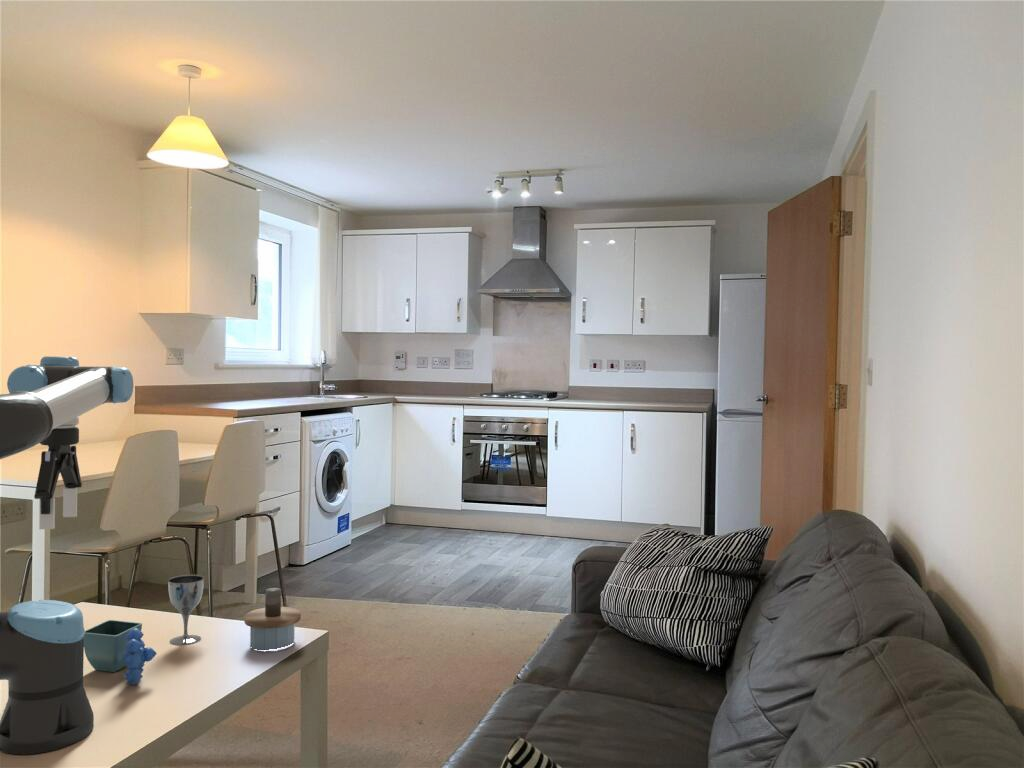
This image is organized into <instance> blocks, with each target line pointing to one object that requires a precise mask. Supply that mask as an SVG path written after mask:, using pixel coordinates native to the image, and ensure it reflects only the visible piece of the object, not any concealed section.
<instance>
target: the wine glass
mask: <svg viewBox="0 0 1024 768" xmlns="http://www.w3.org/2000/svg"><path fill="white" fill-rule="evenodd" d="M204 580H205V578H204V576H203V575H200V574H181V575H176V576H175V575H174V576H173V577H169V579H168V585H167V586H168V596H169V601H170V603H171V605H172V606H173V607H174V608H175V609H176V610H177V611H178V612H179V614H180V615H181V616H182V621H183V634H182V635H180V636H176V637H173V638H171V639H170V641H169V643H170V645H172V646H173V645H174V646H188V645H194V644H195V643H198V642H201V640H202V637H201V636H199V635H197V634H188V626H189V618H190V615H191V613H192V612H193V611H194V609H195V608H196V607H197V606H198V605H199V603H200V602H201V599H202V597H203V594H204V593H203V592H204V583H205V581H204Z"/></svg>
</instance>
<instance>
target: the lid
mask: <svg viewBox="0 0 1024 768" xmlns="http://www.w3.org/2000/svg"><path fill="white" fill-rule="evenodd" d="M264 591H265V592H264V593H265V596H264V597H265V598H264V599H265V601H264V603H265V604H264V607H262V608H261V607H260V608H257V609H253V610H251V611H248V612H247V613H245V615H244V624H245V625H246V626H247V627H253V628H261V629H271V628H280V627H286V626H290V625H293V624H295V625H296V624H297V623H299V622H300V621H301V620H302V612H301V610H299V609H298V608H295V607H289V606H282V589H281V588H279V587H270V588H267V589H265V590H264Z"/></svg>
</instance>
